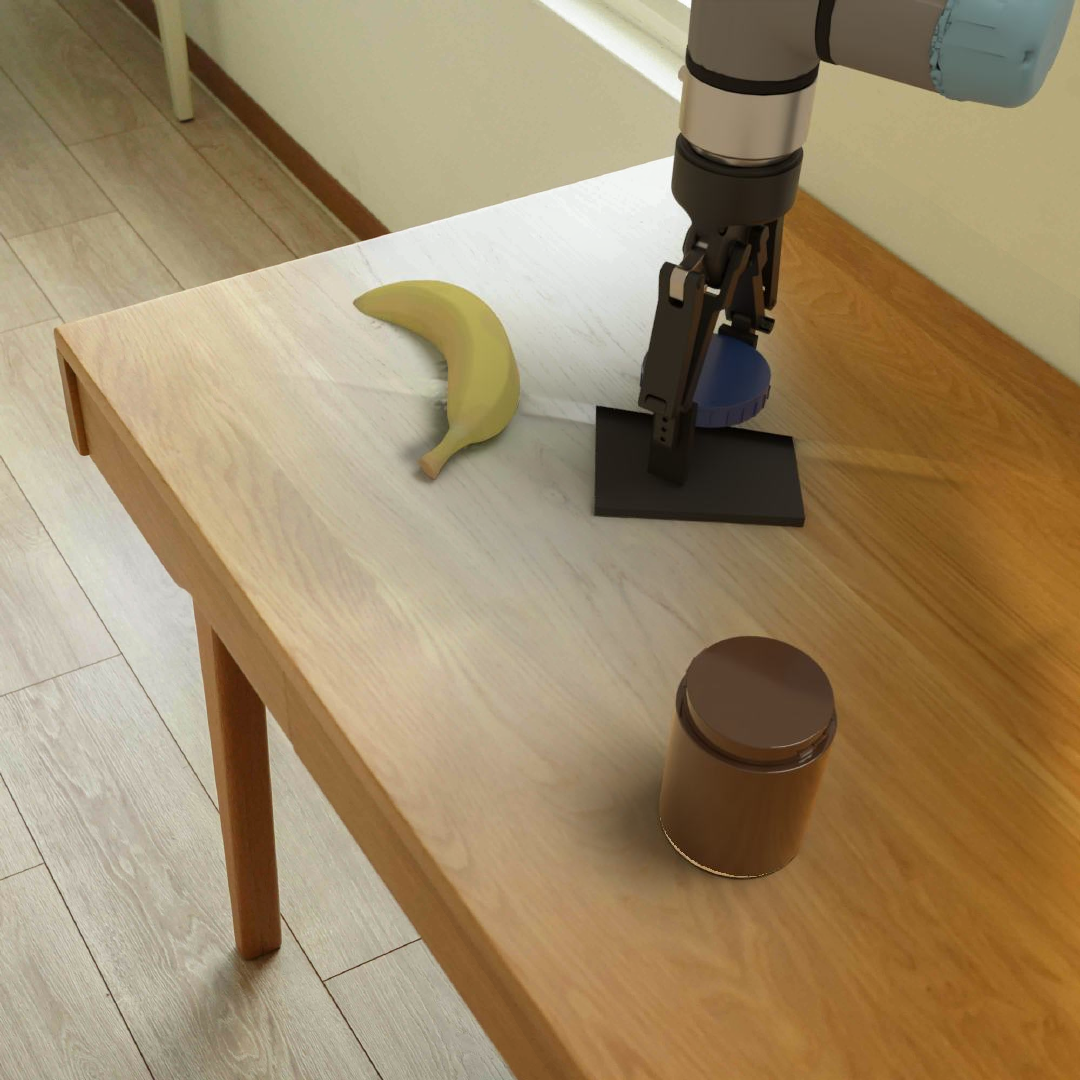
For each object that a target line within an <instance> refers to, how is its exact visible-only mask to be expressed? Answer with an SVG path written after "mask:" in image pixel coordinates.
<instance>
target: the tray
mask: <svg viewBox="0 0 1080 1080" xmlns="http://www.w3.org/2000/svg"><path fill="white" fill-rule="evenodd" d="M653 414H654V413H648V412H642V411H635V410H628V409H622V408H615V407H610V406H603V405H597V404H596V405H595V437H594V439H595V443H594V504H593V505H594V509H593V511H594V512H593V515H594V516H595V517H612V518H613V517H614V518H633V519H634V518H635V519H650V520H651V519H654V520H668V521H669V520H671V521H691V522H710V523H711V522H712V523H727V524H728V523H729V524H745V525H746V524H747V525H749V524H750V525H766V526H767V525H768V526H787V527H804V526H805V521H806V514H805V513H806V512H805V506H804V500H803V494H802V488H801V481H800V480H801V479H800V475H799V469H798V462H797V461H798V460H797V456H796V448H795V442H794V436H792V435H786V434H779V433H774V432H769V431H768V432H767V431H761V430H755V429H748V428H741V427H735V426H728V427H718V428H707V427H696V426H695V430H694V437H693V444H692V451H691V459H690V466H689V473H688V480H687V482H686V483H685V484H684V485H683V486H680V485H678V484H675V483H673V482H670V481H668V480H665V479H663V478H660V477H658V476H655V475H653V474H650V473H648V472H647V468H648V459H649V450H650V441H651V432H652V423H653Z"/></svg>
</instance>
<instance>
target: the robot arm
mask: <svg viewBox="0 0 1080 1080" xmlns="http://www.w3.org/2000/svg"><path fill="white" fill-rule="evenodd" d="M690 1H691V2H690V11H689V23H688V35H687V44H686V48H685V57H684V58H685V60H684V65H683V64H682V65H681V67H680V69H679V70H678V71H677V78H678V80H679V81H680V82H682V86H681V95H680V105H679V115H678V130H679V131H680V132H679V133H678V135H677V136H676V138H675V146H674V155H673V163H672V164H673V165H672V171H671V183H670V188H671V189H670V190H671V193H672V196H673V199H674V200H675V201H676V203H677V204H678V205H679V206H680V207H681V208H682V210H684V212H685V213H686V214H687V216H688V217H689V219H690V221H691V224H690V226H689V228H688V229H687V231H686V234H685V236H684V240H683V243H682V247H681V251H682V254H683V257H682V260H681V261H680V262H679V264H676V263H673V262H670V261H664V262H663V263H662V265H661V267H660V269H659V272H658V289H657V290H658V291H657V302H656V309H655V314H654V317H653V323H652V328H651V333H650V339H649V343H648V349H647V351H648V353H647V352H646V353H647V358H646V363H645V368H644V373H643V378H642V383H641V387H640V389H639V394H638V400H637V406H638V407H639V408H641V409H644V410H647V411H649V412H652V414H653V423H652V432H651V441H650V450H649V459H648V468H647V472H648V473H650V474H653V475H655V476H658V477H660V478H663V479H665V480H668V481H670V482H673V483H675V484H678V485H680V486H683V485H684V484H685V483H686V482H687V480H688V473H689V466H690V459H691V451H692V444H693V437H694V430H695V423H696V415H697V408H698V403H696V402H693V401H692V400H693V397H694V394H695V391H696V387H697V384H698V381H699V378H700V374H701V371H702V368H703V365H704V361H705V358H706V355H707V352H708V349H709V345H710V342H711V339H712V336H713V333H715V329H716V324H717V322H718V320H719V316H720V313H721V312H722V311H724V316H725V320H726V321H729V322H730V323H731V324H727V323H725V322H723V323H722V324H720V325H719V327H717V334H721V335H726V336H729V337H732V338H735V339H738V340H740V341H743V342H745V343H747V344H748V345H750V346H752V347H753V348H755V349H756V350H757V346H758V340H759V336H760V335H758V334H756V333H757V332H759V333H763V334H766V335H770V334H771V333H772V331H773V329H774V326H775V323H776V319H775V318H774V317H773V318H772V317H770V316H766V311H769V312H771V311H772V310H773V309H774V308H775V307H776V306H777V303H778V300H777V299H778V292H779V291H778V290H779V280H780V269H781V256H782V248H783V247H782V245H783V233H784V225H785V224H784V222H785V216H786V214H788V212H790V211H791V209H792V208H793V207H794V204H795V202H796V199H797V195H798V194H797V193H798V188H799V182H800V177H801V173H802V172H801V171H802V165H803V161H804V149H803V146H804V145H805V143H806V142H807V141H808V140H807V139H808V136H809V132H810V126H811V119H812V113H813V108H814V103H815V95H816V89H817V84H818V77H819V70H820V64H821V62H824V63H827V64H829V65H834V66H842V67H845V68H848V69H851V70H855V71H858V72H863V73H866V74H870V75H873V76H876V77H879V78H884V79H886V80H891V81H894V82H898V83H900V84H905V85H908V86H911V87H915V88H918V89H922V90H925V91H929V92H932V93H935V94H939V95H940V96H942V97H944V98H945V99H947V100H951V101H957V102H960V103H962V102H972V103H978V104H983V105H989V106H993V107H998V108H1003V109H1016V108H1019V107H1021V106H1024V105H1026V104H1028V103H1029V102H1030V101H1032V99H1034V98H1035V97H1036V95H1037V94H1038V93H1039V91H1040V90H1041V89H1042V87H1043V86H1044V83H1045V80H1046V78H1047V77H1048V74H1049V72H1050V71H1051V70H1052V68H1053V66H1054V63H1055V62H1056V59H1057V56H1058V54H1059V52H1060V49H1061V46H1062V44H1063V41H1064V38H1065V36H1066V33H1067V30H1068V27H1069V23H1070V20H1071V18H1072V17H1071V16H1072V14H1073V10H1074V5H1075V3H1076V0H690ZM708 288H710V289H713V290H719V292H718V294H716V293H713V292H711V291H708ZM765 310H766V311H765ZM756 331H757V332H756Z"/></svg>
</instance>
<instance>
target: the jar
mask: <svg viewBox="0 0 1080 1080" xmlns="http://www.w3.org/2000/svg"><path fill="white" fill-rule="evenodd" d="M837 729H838V713H837V707H836V702H835V694H834V688H833V686H832V683H831V681H830V678H829V677H828V674H827V673H826V672H825V671H824V669H823V668H822V667H821V665H820V664H819V663H818V662H817V661H816V660H815V659H814V658H813V657H812V656H810V655H809V654H807V653H806V652H805V651H803V650H802V649H799V648H798V647H796V646H794V645H792V644H790V643H788V642H785V641H783V640H779V639H777V638H771V637H768V636H766V637H765V636H758V635H740V636H734V637H733V636H732V637H728V638H725V639H722V640H719V641H716V642H715V643H713V644H711V645H709V646H708V647H705V648H703V649H702V650H701V651H700V652H699V653H698V654H697V655H696V656H693V658H692V660H691V662H690V664H689V665H688V666H687V669H686V670H685V673H684V675H683V676H682V678H681V679H680V682H679V684H678V686H677V689H676V693H675V699H674V704H673V711H672V717H671V723H670V730H669V737H668V742H667V749H666V754H665V761H664V768H663V773H662V782H661V787H660V794H659V800H658V816H659V815H660V818H661V823H662V825H663V828H664V830H665V831H666V834H667V835H668V837H669V838H670V839H671V841H672V842H673V843H674V845H676V846H677V848H679V849H680V851H681V852H683V853H684V854H685V855H686V856H688V857H689V858H690V859H691V860H694V861H695V862H697V863H698V864H700V865H701V866H705V867H707V868H710V869H712V870H714V871H718V872H721V873H726V874H729V875H734V876H748V877H749V876H759V875H762V874H764V875H765V874H766V873H767V874H768V873H770V872H773V871H775V870H777V869H778V868H781V867H782V866H784V865H785V864H787V863H788V862H789V861H790V860H791V859H792V858H793V857H794V856H795V855H796V854H797V855H798V853H799V852H800V851H799V850H801V849H802V847H803V846H804V843H803V842H805V839H806V836H807V834H808V830H809V826H810V822H811V819H812V816H813V812H814V809H815V806H816V802H817V799H818V796H819V791H820V789H821V784H822V782H823V778H824V775H825V771H826V768H827V765H828V761H829V758H830V754H831V750H832V747H833V745H834V740H835V737H836V734H837ZM660 818H659V819H660ZM661 823H660V824H661ZM801 846H802V847H801ZM800 848H801V849H800ZM797 855H796V856H797ZM796 856H795V857H796ZM795 857H794V858H795ZM794 858H793V859H794ZM793 859H792V860H793ZM792 860H791V861H792ZM791 861H790V862H791ZM790 862H789V863H790ZM789 863H788V864H789ZM788 864H787V865H788ZM785 866H786V865H785ZM785 866H784V867H785ZM782 868H783V867H782ZM782 868H781V869H782ZM777 871H778V870H777ZM775 872H776V871H775ZM773 873H774V872H773ZM768 875H769V874H768ZM765 876H766V875H765Z"/></svg>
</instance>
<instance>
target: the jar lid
mask: <svg viewBox="0 0 1080 1080" xmlns="http://www.w3.org/2000/svg"><path fill="white" fill-rule="evenodd" d="M647 353H648V350H647V351H646V352H645V354H644V356H643V359H642V362H641V369H640V377H639V388H641V383H642V378H643V373H644V368H645V363H646V358H647ZM771 380H772V371H771V367H770V363H768V361H767V359H766V358H765V356H764V355H763V354H762V353H760V351H759V350H758V349H757V348H756V349H755V348H753V347H752V346H750V345H748V344H747V343H745V342H743V341H740V340H738V339H735V338H732V337H729V336H726V335H721V334H718V333H715V332H713V336H712V339H711V342H710V345H709V349H708V352H707V355H706V358H705V361H704V365H703V368H702V371H701V374H700V378H699V381H698V384H697V387H696V391H695V394H694V397H693V400H692V401H693V402H696V403H698V408H697V415H696V423H695V426H696V427H707V428H718V427H728V426H730V427H733V426H736V425H740V424H744V423H746V422H747V421H749V420H751V419H753V418H755V417H756V416H757V415H758V414H759V413H760V412H761V411H762V410H764V409H765V406H766V403H767V401H768V400H769V398H770V392H771V388H772V387H771Z"/></svg>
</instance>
